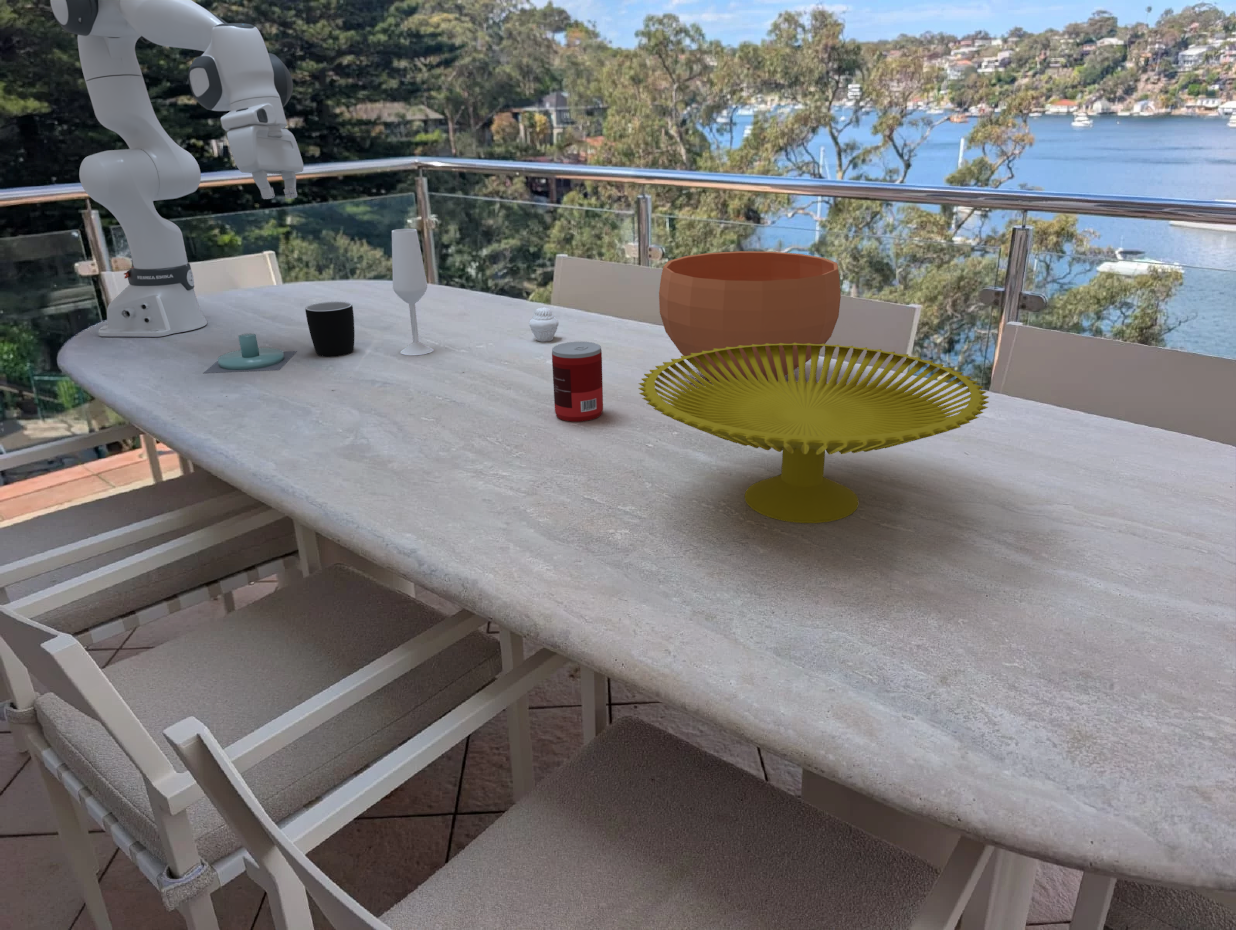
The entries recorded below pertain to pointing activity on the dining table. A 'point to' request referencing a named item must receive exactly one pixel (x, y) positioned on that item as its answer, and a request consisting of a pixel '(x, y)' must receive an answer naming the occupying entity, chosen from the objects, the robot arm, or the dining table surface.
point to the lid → (250, 355)
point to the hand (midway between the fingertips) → (280, 198)
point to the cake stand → (810, 417)
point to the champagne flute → (409, 280)
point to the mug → (331, 328)
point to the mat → (217, 369)
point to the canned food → (577, 381)
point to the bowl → (749, 304)
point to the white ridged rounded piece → (543, 324)
